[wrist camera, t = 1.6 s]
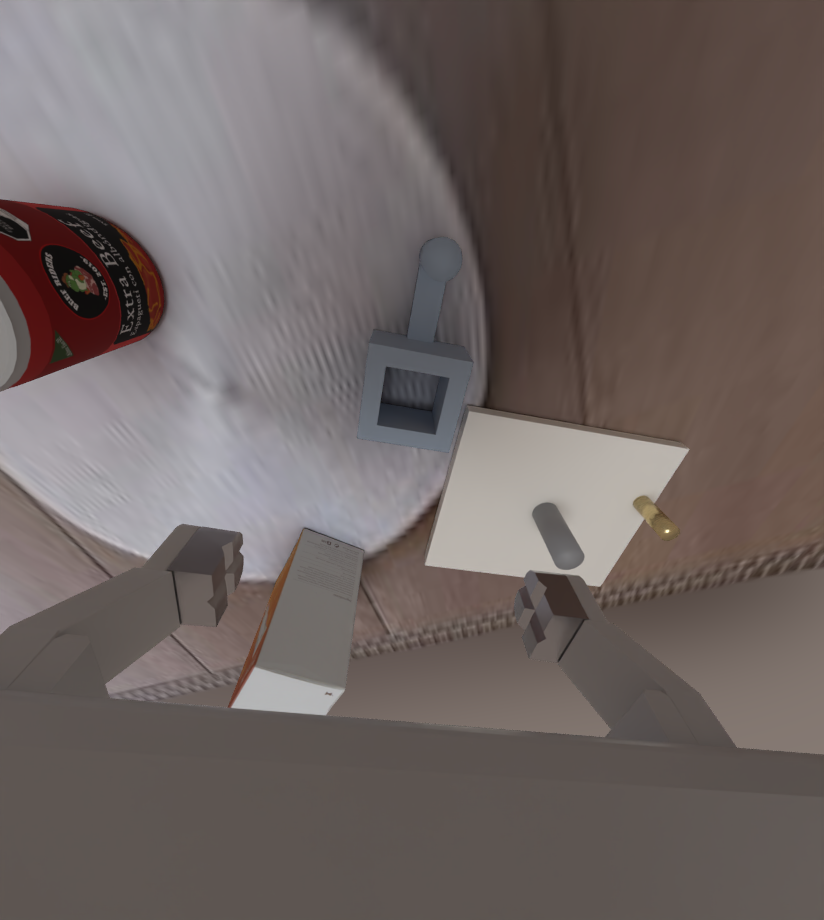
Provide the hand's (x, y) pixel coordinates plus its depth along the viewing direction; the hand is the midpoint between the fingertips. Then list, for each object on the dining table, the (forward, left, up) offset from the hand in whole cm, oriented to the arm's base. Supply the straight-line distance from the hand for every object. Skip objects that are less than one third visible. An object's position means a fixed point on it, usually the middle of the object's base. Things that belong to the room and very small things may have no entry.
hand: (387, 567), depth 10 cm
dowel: (+7, +22, -18) cm, 29 cm away
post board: (+10, +15, -19) cm, 26 cm away
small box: (+21, -4, -19) cm, 28 cm away
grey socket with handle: (-2, +1, -19) cm, 19 cm away
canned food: (-2, -19, -19) cm, 27 cm away
